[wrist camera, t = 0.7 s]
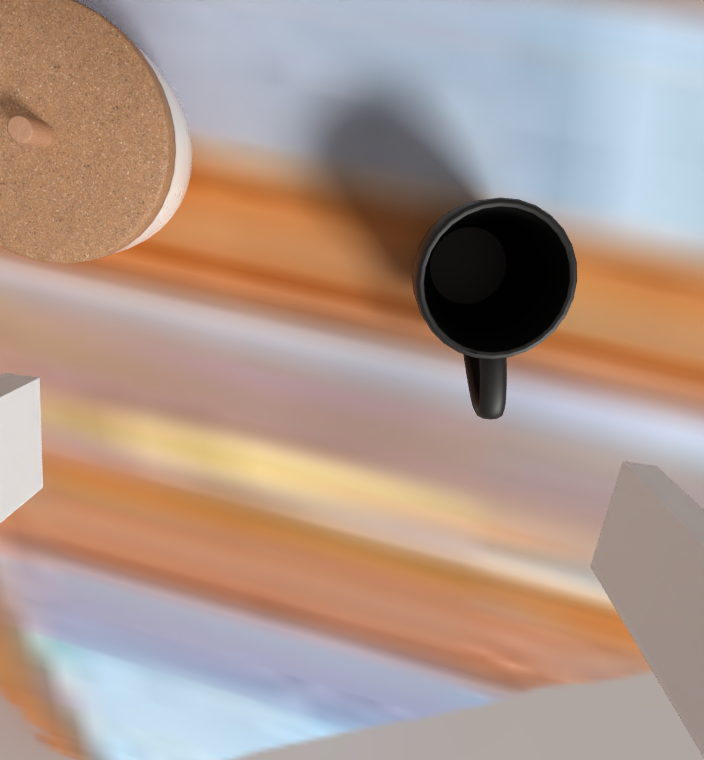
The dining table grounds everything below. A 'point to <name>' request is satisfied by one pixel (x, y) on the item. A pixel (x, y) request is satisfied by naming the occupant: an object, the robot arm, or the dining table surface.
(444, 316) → the mug
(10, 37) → the lidded bowl
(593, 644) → the dining table surface
